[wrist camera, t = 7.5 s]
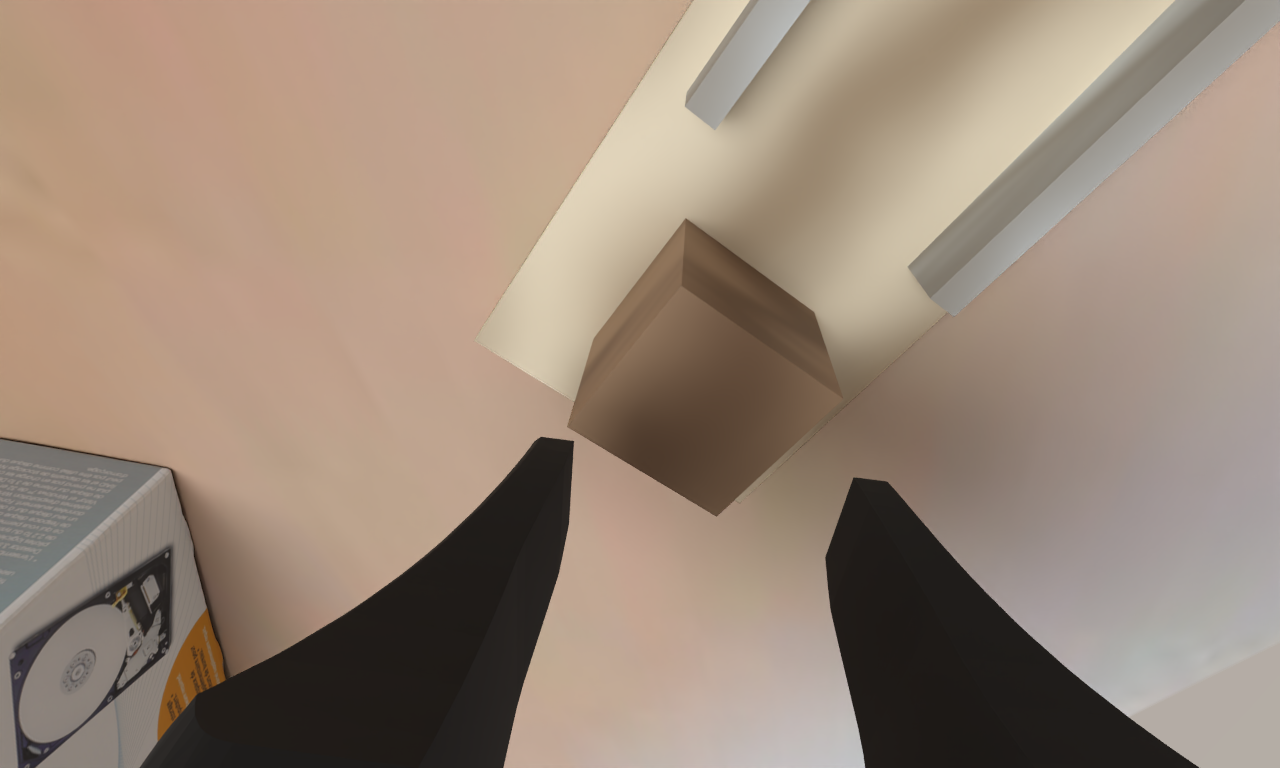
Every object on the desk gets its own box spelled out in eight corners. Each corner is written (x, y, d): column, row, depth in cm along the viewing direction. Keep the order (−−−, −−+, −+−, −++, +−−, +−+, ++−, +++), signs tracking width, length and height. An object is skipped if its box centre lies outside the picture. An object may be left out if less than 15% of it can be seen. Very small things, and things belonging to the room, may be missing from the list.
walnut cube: (814, 311, 18) (843, 399, 14) (713, 416, 20) (716, 516, 16) (685, 218, 17) (681, 285, 13) (593, 338, 19) (567, 426, 15)
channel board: (1663, -427, 12) (2059, -594, 8) (736, 465, 24) (742, 547, 20) (1348, -1017, 9) (1727, -1599, 6) (492, 311, 21) (452, 375, 18)
